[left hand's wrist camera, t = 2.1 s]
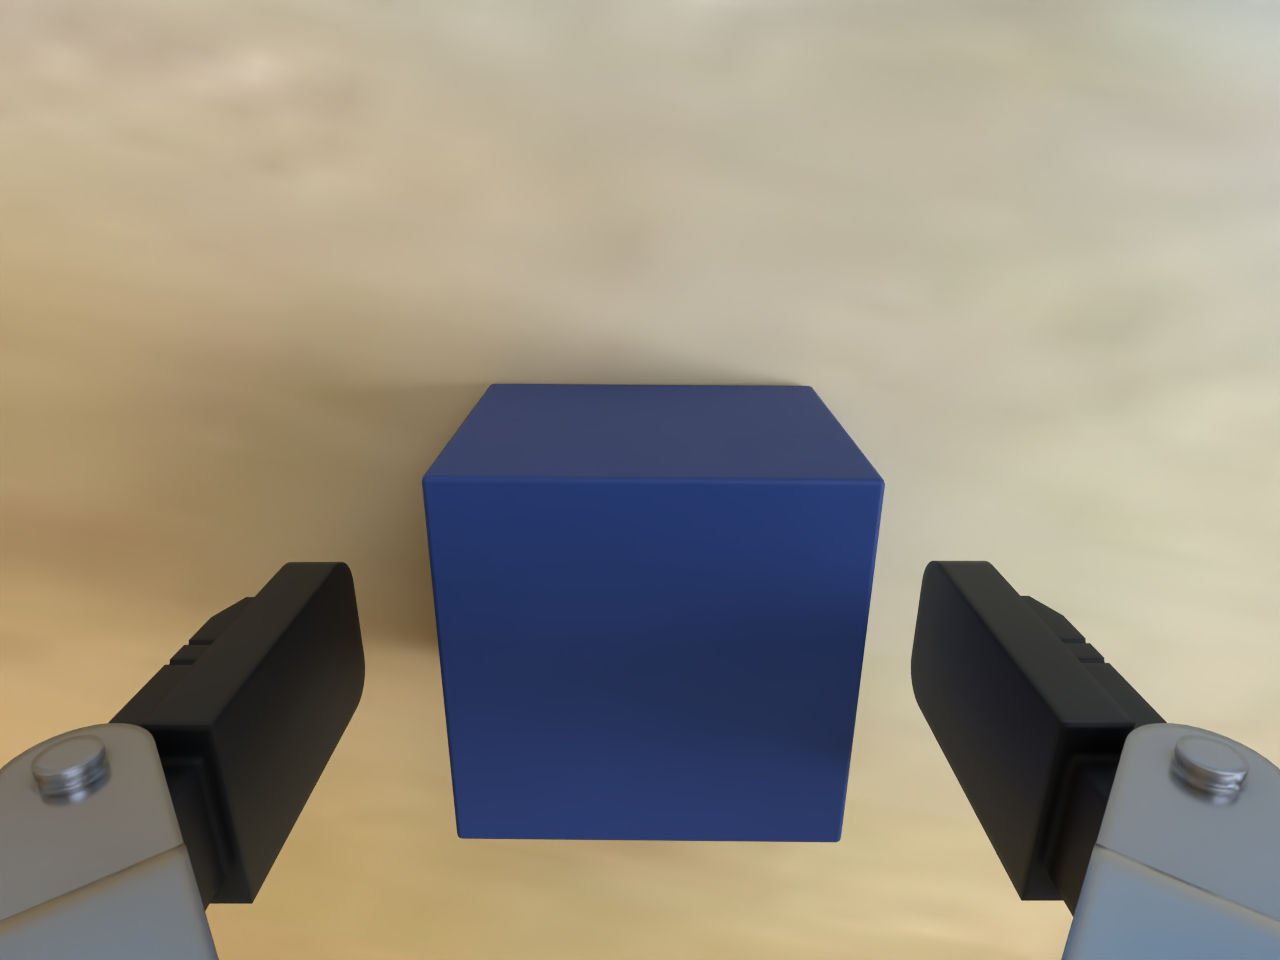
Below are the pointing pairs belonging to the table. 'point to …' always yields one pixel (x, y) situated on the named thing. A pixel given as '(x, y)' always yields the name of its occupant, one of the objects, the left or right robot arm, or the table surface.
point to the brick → (651, 611)
